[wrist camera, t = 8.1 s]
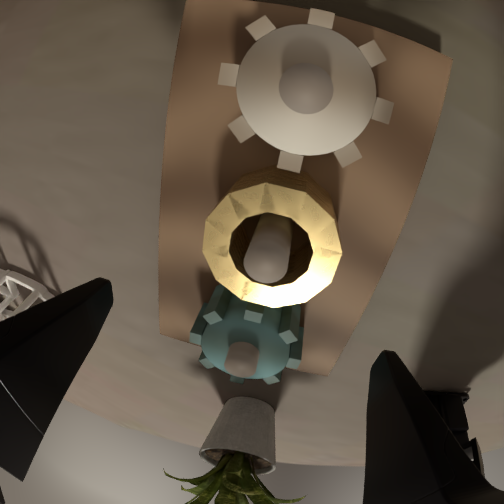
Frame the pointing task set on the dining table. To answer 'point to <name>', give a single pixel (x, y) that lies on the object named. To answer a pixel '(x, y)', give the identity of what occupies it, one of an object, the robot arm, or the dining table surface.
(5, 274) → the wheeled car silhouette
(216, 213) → the hollow tan sleeve
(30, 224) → the dining table surface
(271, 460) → the house plant
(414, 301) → the dining table surface
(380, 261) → the gear board
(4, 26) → the dining table surface
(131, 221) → the dining table surface
